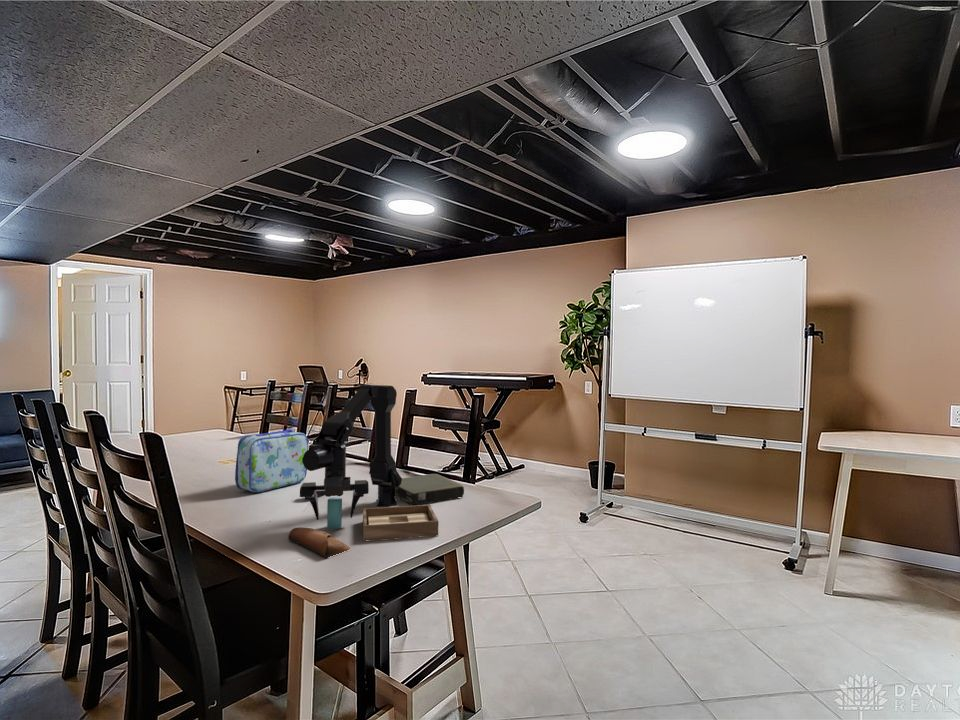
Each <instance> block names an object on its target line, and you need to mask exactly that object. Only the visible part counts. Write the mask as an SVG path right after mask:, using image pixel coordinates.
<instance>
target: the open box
mask: <svg viewBox="0 0 960 720" xmlns="http://www.w3.org/2000/svg"><path fill="white" fill-rule="evenodd" d="M367 522H368V523H367ZM439 523H440V522H439V519H438V517H437V515H436V514H435V512H434V509H433V507H432V506H431V504H420V505H415V506H411V505H401V506H400V505H399V506H386V507H385V506H380V507H368V508H367V507H365V508H362V529H363V530H362V531H363V533H362V534H363V542H367V541H366V540H375V541H382V540H381V539H388V540H396V539H395V538H402V539H410V538H409V537H415V538H420V537H419V536H429V537H437V536H436V535H438V536H439Z"/></svg>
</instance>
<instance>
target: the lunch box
mask: <svg viewBox="0 0 960 720" xmlns="http://www.w3.org/2000/svg"><path fill="white" fill-rule="evenodd" d="M307 450H309V442H308V437H307V435H306V434H305V433H304V432H299V431H298V432H297V431H295V430H294V431H293V429H285V430H278V431H272V432H265V433H263V432H262V433H254V434H248V435H244V436H241V437H240V439H239V440H238V443H237V450H236V451H237V453H236V462H235V473H234V474H235V475H234V482H235V485H236V487H237V488H238V489H240V490H246V491H248V492H249V491H250V492H252V493H262V492H266V491H269V490H270V491H271V490H274V489H279V488H282V487H287V486H291V485H294V484H295V485H296V484H299V483H301V482H303V481H304V480H305V478H306V476H307V471H308V470H307V469H306V468H305V467H304V465H303V461H302V458H303V456H304V453H305V452H306V451H307Z"/></svg>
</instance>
